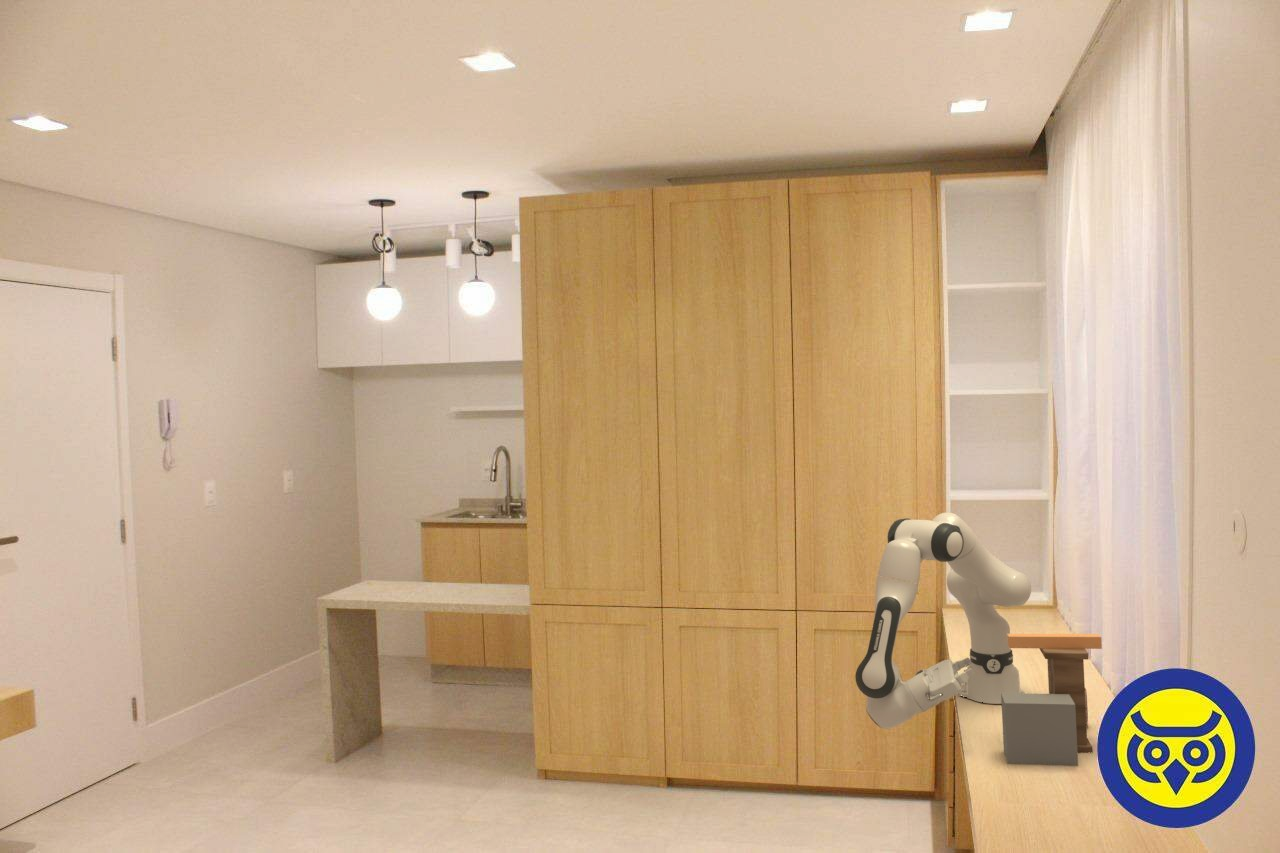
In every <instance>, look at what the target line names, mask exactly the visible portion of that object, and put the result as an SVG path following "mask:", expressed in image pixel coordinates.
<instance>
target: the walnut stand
mask: <svg viewBox="0 0 1280 853" xmlns="http://www.w3.org/2000/svg"><path fill="white" fill-rule="evenodd" d="M1038 649H1039V650H1040V652H1041V654H1042V656H1043V657H1044V659H1045V660H1047V676H1048V677H1047V680H1048V694H1069V695H1070V696H1071V698H1072V700H1073V702H1074V703H1075V709H1076V731H1077V753H1080V754H1081V752H1082V753H1083V754H1085V753H1086V754H1089V753H1088V752H1090V754H1092V753H1091V752H1094V750H1093V745H1092V744H1091V742H1090V740H1089V738H1088V734H1087V733H1088V732H1087V727H1088V726H1086V705H1085V688H1086V687H1085V686H1086V685H1085V667H1084V666H1085V665H1084V660H1089V652H1088V651H1087V650H1086V649H1054V648H1038Z"/></svg>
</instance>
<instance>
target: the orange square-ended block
mask: <svg viewBox="0 0 1280 853" xmlns="http://www.w3.org/2000/svg"><path fill="white" fill-rule="evenodd" d="M1007 642H1008V647H1009V648H1011V649H1039V648H1054V649H1085V650H1086V649H1087V650H1089V649H1090V650H1091V649H1092V650H1094V649H1095V650H1102V649H1103V647H1102V635H1100V634H1099V633H1010V634H1007Z"/></svg>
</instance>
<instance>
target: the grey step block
mask: <svg viewBox="0 0 1280 853" xmlns="http://www.w3.org/2000/svg"><path fill="white" fill-rule="evenodd" d="M1001 702H1002V704H1001V718H1002V719H1001V720H1002V721H1001V722H1002V723H1001V724H1002V741H1003V742H1002V743H1003V753H1004V757H1005V759H1006V763H1007V764H1008V765H1009V764H1010V765H1037V766H1041V765H1043V766H1065V767H1066V766H1067V767H1070V766H1073V767H1079V760H1078V759H1079V758H1078V753H1079V752H1077V731H1076V709H1075V703H1074V702H1073V700H1072V698H1071V696H1070V695H1069V694H1049V693H1026V692H1025V693H1001Z"/></svg>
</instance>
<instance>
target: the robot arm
mask: <svg viewBox="0 0 1280 853" xmlns="http://www.w3.org/2000/svg"><path fill="white" fill-rule="evenodd" d="M884 548H885V549H884V551H883V552H882V556H881V559H880V563H879V567H878V571H877V576H876V582H875V592H874V595H875V596H874V597H875V598H874V600H875V601H874V602H875V603H874V619H873V622H872V629H871V633H870V639H869V643H868V647H867V652H866V655H865V656H864V658H863V660H862V661H861V662H860V663H859V665H858V667H857V668H856V671H855V676H854V677H855V683H856V686H857V688H858V689H859V691H860V692H861V693H862V694H863V695H865V696H866V706H865V711H866V713H867V714H868V716H869V718H870V719H871V720H872V721H873V722H874V724H876V726H878V727H879V728H881V729H885V730H888V729H889V730H890V729H893V728H895V727H897V726H900V725H902V724H904V723H906V722H908V721H910V720H911V719H912V718H913V717H914V716H916V715H918V714H921V713H925V712H927V711H929V710H930V709H932V708H933V707H935V706H937V705H939V704H941V703H942V702H944V701H946V700H949V699H950V698H953V697H955V696H957V695H958V694H959V696H960V695H962V696H964V697H967V698H966V699H970V700H973V702H974V701H975V702H979V703H982V702H983V703H984V704H989V705H990V704H991V705H993V704H995V705H1002V702H1001V693H1026V692H1025V691H1024V690H1023V689H1022V688H1021V682H1020V670H1019V669H1018V668H1017V667H1016V666H1015V665H1014V654H1013V649H1012V648H1009V647H1008V642H1007V634H1011V627H1010V624H1009V623H1008V621H1007V620H1006V619H1005V618H1004V617H1003V616H1002V615H1000V614H999V612H998V611H997V610H996V607H995V606H998V607H1005V608H1007V607H1020V606H1024V605H1025V604H1026V603H1027V602H1028V600H1029V599H1030V597H1031V594H1032V585H1031V582H1030V579H1029V577H1028V576H1027V575H1026V574H1025V573H1023V572H1020V571H1019V570H1017V569H1014V568H1012V567H1010V566H1009V565H1007V564H1006V562H1003V561H1002V560H1000V559H999V558H998V557H997V556H995V555H994V554H992V553H991V552H990V551H989V550H988V549H987V548H986V547H985V546H984V545H983V543H982V542H981V540H980V539H979V537H978V536H977V534H975V532H974V531H973V529H972V528H971V527H970V526H969V525H968V524H967V523H966V521H964V520H963V519H962V518H961V517H960V516H959V515H958V514H955V513H953V512H951V511H950V512H941V513H939V514H937V515H936V516H935V517H933V519H932V520H931V519H913V518H900V519H896V520H895V521H894V522H893V523H892V524H891V525H890V526H889V529H888V532H887V544H886V546H885V547H884ZM923 560H926V561H938V562H942V563H946V562H947V564H948V565H949V567H950V568H951V569H950V570H949V572H948V574H947V575H946V576H947V577H946V587H947V590H948V592H949V593H950V594H951V596H953V597H954V598H955V600H957V601H958V603H959V604H960V606H961V607H962V609H963V612H964V613H965V616H966V618H967V621H968V625H969V633H970V647H971V648H970V649H969V656H968V657H965V658H963V659H960V660H956V661H954V662H953V661H952V660H951V659H950V658H947V659H945V660H941V661H940V662H938V663H936V664H935V663H934V665H931V666H930V667H928V668H926V669H924V668H921V669H919V670H918V671H917V672H916V673H915V675H914V676H912V677H911V678H909V679H907V680H905V681H903V677H902V676H901V673H900V669H899V667H898V665H897V664H896V662H895V661H893V653H894V648H895V643H896V638H897V634H898V630H899V627H900V624H901V623H902V621H903V619H904V617H905V616H906V615H907V614H908V612H909V611H911V609H912V607H913V605H914V602H915V599H916V598H917V593H918V590H919V589H918V588H919V583H920V578H921V566H922V565H921V563H922V562H923ZM964 668H966V669H964ZM961 669H963V671H962V672H961V673H960V674H959V673H958V672H959V671H961ZM964 697H963V698H964Z"/></svg>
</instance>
